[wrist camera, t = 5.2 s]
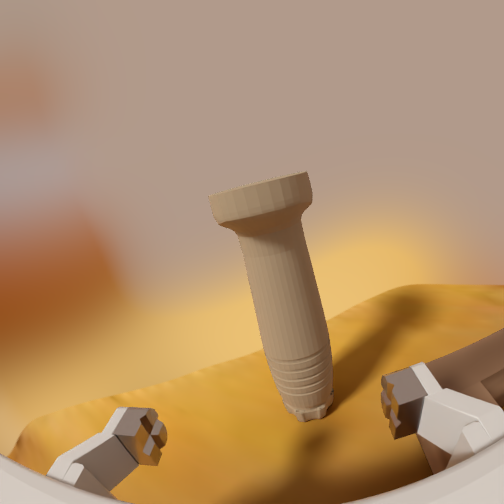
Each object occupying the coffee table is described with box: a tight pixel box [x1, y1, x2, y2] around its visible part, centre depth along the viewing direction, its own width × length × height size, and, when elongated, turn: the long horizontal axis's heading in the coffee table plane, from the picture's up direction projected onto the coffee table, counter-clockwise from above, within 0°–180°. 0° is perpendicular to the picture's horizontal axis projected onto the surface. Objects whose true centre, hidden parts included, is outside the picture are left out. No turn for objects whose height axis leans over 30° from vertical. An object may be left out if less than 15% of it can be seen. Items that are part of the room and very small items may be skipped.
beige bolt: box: [208, 172, 334, 422], centre depth 16 cm, size 5×6×15 cm
